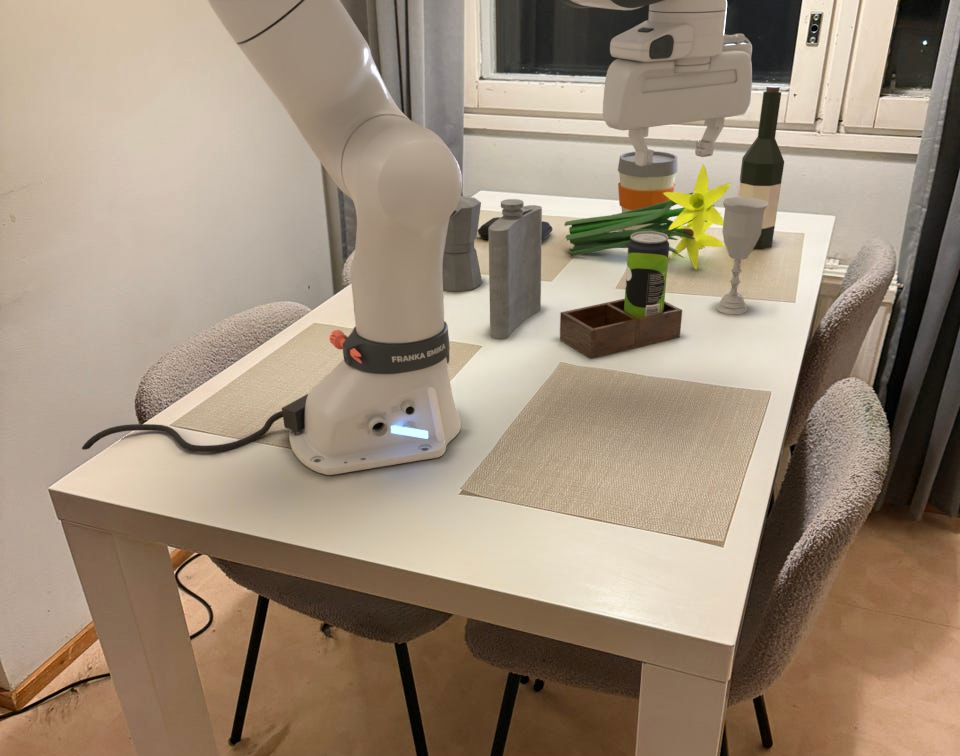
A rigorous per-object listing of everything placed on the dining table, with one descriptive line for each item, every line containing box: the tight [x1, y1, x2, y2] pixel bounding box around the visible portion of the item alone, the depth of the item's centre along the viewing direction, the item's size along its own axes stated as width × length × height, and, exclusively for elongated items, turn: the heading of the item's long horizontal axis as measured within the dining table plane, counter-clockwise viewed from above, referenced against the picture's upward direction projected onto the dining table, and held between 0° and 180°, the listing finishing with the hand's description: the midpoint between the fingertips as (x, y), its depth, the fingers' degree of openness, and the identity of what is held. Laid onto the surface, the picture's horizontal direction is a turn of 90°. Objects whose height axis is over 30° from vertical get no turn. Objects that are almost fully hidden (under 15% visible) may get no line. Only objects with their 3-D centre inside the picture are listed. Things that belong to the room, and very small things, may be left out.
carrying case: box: [477, 216, 553, 242], centre depth 193 cm, size 11×3×15 cm
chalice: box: [715, 196, 768, 315], centre depth 149 cm, size 7×7×18 cm
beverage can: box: [624, 231, 670, 318], centre depth 141 cm, size 6×6×15 cm
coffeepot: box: [442, 190, 483, 293], centre depth 164 cm, size 15×9×18 cm, turn 176°
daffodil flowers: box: [564, 164, 731, 270], centre depth 174 cm, size 17×15×35 cm
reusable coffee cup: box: [617, 150, 679, 231], centre depth 193 cm, size 13×13×15 cm
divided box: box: [559, 298, 683, 360], centre depth 143 cm, size 17×9×5 cm, turn 118°
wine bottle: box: [737, 85, 785, 250], centre depth 178 cm, size 8×8×30 cm
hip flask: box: [488, 198, 543, 340], centre depth 146 cm, size 16×4×20 cm, turn 154°
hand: (674, 160), depth 113 cm, fingers open, 8 cm apart
